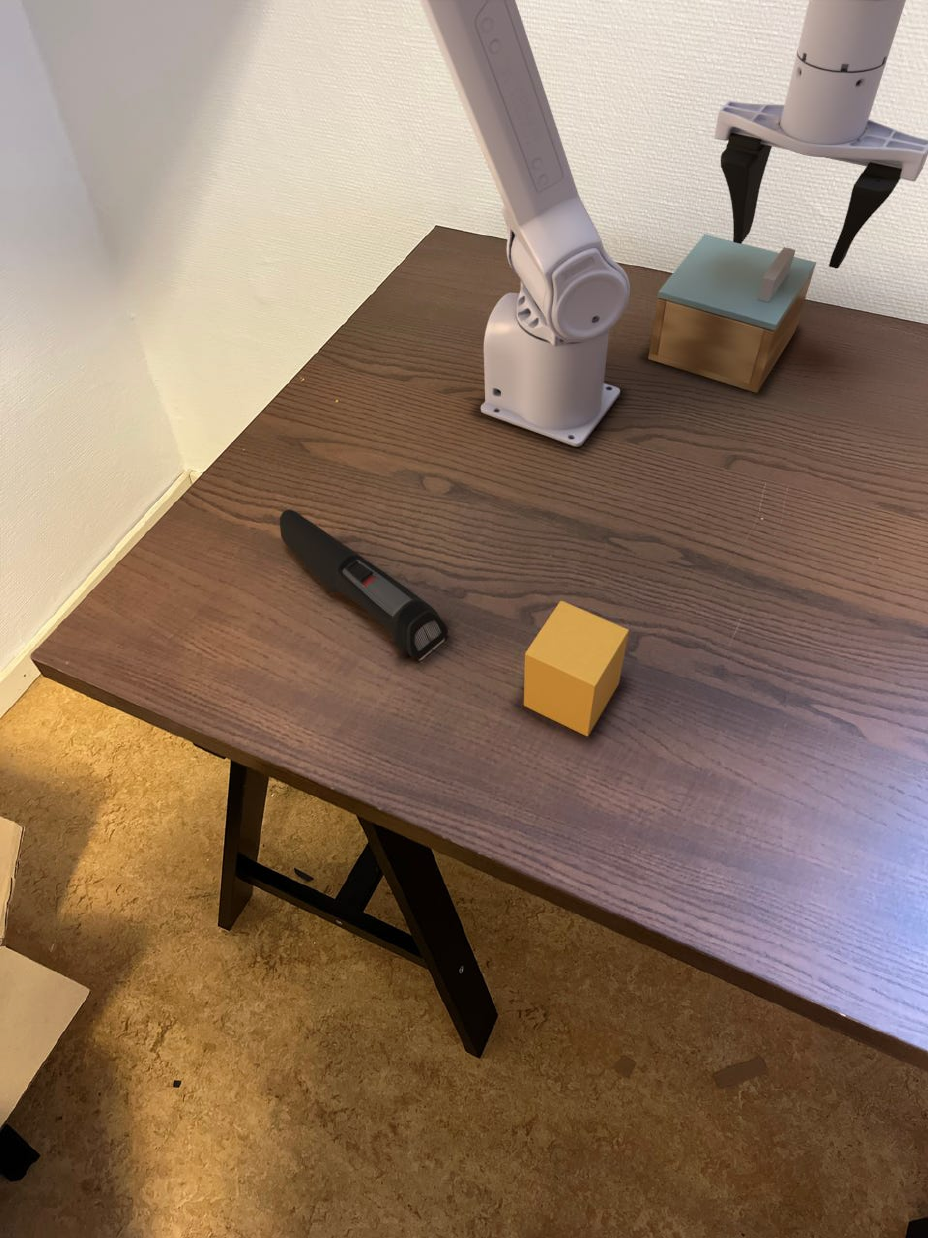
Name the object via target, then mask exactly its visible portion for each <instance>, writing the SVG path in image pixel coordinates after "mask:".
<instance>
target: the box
mask: <svg viewBox="0 0 928 1238" xmlns="http://www.w3.org/2000/svg"><path fill="white" fill-rule="evenodd" d="M814 270H815V269H814ZM814 270H813V272H812V273H811V275H810V276H809V278H808V279H807V281H806V283H805V284H804V286H803V287H802V289H801V290H800V292H799V294H798V295H797V297H796V298H795V300H794V301H793V303H792V305H791V306H790V308H789V309H788V311H787V312H786V314H785V315H784V317H783V319H782V320H781V322H780V323H779V325H778V326H777V328H776V330H775V331H774V330H770V329H767V328H763V327H760V326H756V325H753V324H749V323H746V322H742V321H739V320H735V319H732V318H728V317H725V316H721V315H718V314H714V313H711V312H707V311H704V310H700V309H697V308H693V307H690V306H686V305H683V304H679V303H676V302H672V301H669V300H665V299H662V298H658V297H657V299H656V307H655V313H654V319H653V324H652V331H651V339H650V345H649V352H648V360H651V361H654V362H657V363H660V364H663V365H666V366H669V367H672V368H674V369H675V368H676V369H679V370H682V371H686V372H689V373H692V374H695V375H698V376H701V377H705V378H708V379H711V380H714V381H717V382H720V383H724V384H726V385H730V386H733V387H736V388H739V389H743V390H746V391H749V392H753V393H755V394H758V393H759V391H760V389H761V387H762V386H763V384H764V383H765V381H766V379H767V378H768V377H769V375H770V374H771V371H772V370H773V368H774V366H775V365H776V363H777V362H778V360H779V358H780V356H781V355H782V353H783V352H784V350H785V348H787V345H788V344H789V342H790V340H791V339H792V337H793V335H794V334H795V332H796V330H797V327H798V325H799V324H798V323H799V321H800V317H801V313H802V311H803V307H804V304H805V301H806V298H807V295H808V291H809V288H810V285H811V283H812V278H813V275H814Z"/></svg>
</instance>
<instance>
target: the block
mask: <svg viewBox="0 0 928 1238" xmlns="http://www.w3.org/2000/svg"><path fill="white" fill-rule="evenodd" d="M629 633H630V630H629V629H628V628H626V627H623V626H621V625H619V624H617V623H614V622H612V621H610V620H607V619H605V618H603V617H600V616H598V615H595V614H593V613H591V612H589V611H586V610H585V609H582V608H579V607H577V606H575V605H573V604H570V603H569V602H566V601H564V600H560V601H559V603H558V604H557V605H556V607H555V608H554V610H553V611H552V613H551V614H550V616H549V617H548V619H547V621H545V623H544V625H543V627H542V628H541V629H540V631H539V632H538V634H537V635H536V637H535V638H534V639H533V641H532V643H531V644H530V646H529V647H528V649H527V650H526V651H525V653H524V684H523V685H524V686H523V687H524V689H523V706H524V707H526V708H528V709H530V710H531V711H534V712H536V713H538V714H540V715H542V716H544V717H546V718H548V719H550V720H552V721H554V722H557V723H558V724H560V725H563V726H564V727H567V728H569V729H571V730H573V731H575V732H576V733H579V734H580V735H583V736H585V737H589V735H590V734H591V732H592V731H593V729H594V727H595V725H596V723H597V722H598V720H599V719H600V717H601V715H602V714H603V712H604V710H605V708H606V707H607V705H608V703H609V702H610V700H611V698H612V697H613V695H614V692H615V691H616V689H617V688H618V686H619V684H620V680H621V674H622V668H623V664H624V659H625V653H626V648H627V642H628V638H629Z"/></svg>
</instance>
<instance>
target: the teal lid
mask: <svg viewBox="0 0 928 1238" xmlns="http://www.w3.org/2000/svg"><path fill="white" fill-rule="evenodd" d="M795 254H796V249H793V248H790V247H785V246H784V247H782V249H781V251H780V252H777V251H774V250H769V249H765V248H761V247H758V246H753V245H750V244H746V243H743V242H742V243H741V244H739V243H735V242H733V240H730V239H726V238H722V237H718V236H715V235H710V234H707V233H704V234H703V235H702V236H701V238H700V239H699V240H698V241H697V243H696V244H695V245H694V246H693V248H692V249H690V251H689V253H688V254H687V255H686V256H685V258H683V260H682V261H681V262H680V264H679V265H678V266H677V267H676V268H675V270H674V271H673V273H672V274H671V275H670V276H669V278H668V279H667V280H666V282H664V284H663V285H662V286H661V288H660V289H659V290H658V292H657V293H658V294H657V299H658V298H662V299H665V300H669V301H672V302H676V303H679V304H683V305H686V306H690V307H693V308H697V309H700V310H704V311H707V312H711V313H714V314H718V315H721V316H725V317H728V318H732V319H735V320H739V321H742V322H746V323H749V324H753V325H756V326H760V327H763V328H767V329H770V330H774V331H775V330H776V328H777V326H778V325H779V323H780V322H781V320H782V319H783V317H784V315H785V314H786V312H787V311H788V309H789V308H790V306H791V305H792V303H793V301H794V300H795V298H796V297H797V295H798V294H799V292H800V290H801V289H802V287H803V286H804V284H805V283H806V281H807V279H808V278H809V276H810V275H811V273H812V272H813V270H815V268H816V265H817V262H816V261H813V260H809V259H805V258H801V257H797V256H795ZM813 273H814V272H813Z"/></svg>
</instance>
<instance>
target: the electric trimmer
mask: <svg viewBox="0 0 928 1238" xmlns="http://www.w3.org/2000/svg"><path fill="white" fill-rule="evenodd" d="M279 530H280V536H281V539H282V541H283V544H285V545H286V546H287V547H288V550H290V551H291V552H292V554H294V556H295V557H296V558H297V559H298V560H299V561H300V562H301V563H302V564H303V565H304V566H305V567H306V569H307V570H308V571H309V572H310V573H311V574H312V575H313V576H314V578H316V579H317V581H319V583H320V584H322V585H323V587H324V588H325V589H326V590H328V591H329V592H331V593H334V594H335V593H337V594H343V595H345V596H347V597H348V598H349V599H351V600H352V601H353V602H354V603H355V604H356V605H358V606H359V607H361V608H362V609H363V610H364V611H366V613H368V614H369V615H370V616H372V618H374V619H375V620H376V621H377V622H378V623H379V624H380V625H382V627H384V628H385V630H387V631H388V633H389V634H390V635H391V637H392V638H391V639H392V640H393V642H394V644H395V646H396V647H397V648H398V650H399V651H400V652H401V653H402V654H403V656H404V657H406V658H410V659H411V658H413V659H414V660H417V661H419V662H420V661H422V660H423V659H425V658H426V656H428V655H430V654H431V653H432V652H433V651H434V650H436V649H437V648H438V647H439V646H440V645H442V644H443V643H444V642H445V639H446V638H447V637H448V634H449V632H448V631H449V630H448V627H447V625H446V622H444V621H443V619H442V618H441V616H440V615H439V613H438V612H437V611H436V609H434V607H433V606H432V605H431V604H429V603H428V602H426V601H425V600H424V599H422V598H421V597H420V596H418V595H417V593H414V592H413V591H412V590H411V589H409V588H408V587H406V586H404V585H403V584H402V583H400V582H399V581H398V580H396V579H394V578H393V577H392V576H390V575H389V574H387V573H386V572H384V571H383V570H382V569H381V568H379V567H377V566H376V565H375V564H373V563H371V562H370V561H369V560H367V559H365V558H364V557H363V556H362V555H360V554H358V553H357V552H355V551H354V550H353V549H351V548H350V547H349V546H347V545H346V544H344V543H343V542H341V541H340V540H339V539H337V538H335V536H332V535H331V534H329V533H328V532H327V531H326V530H324V529H322V528H321V527H319V526H317V524H315V523H313V522H311V520H309V519H307V518H306V517H305V516H303V515H301V514H300V513H298V512H297V511H295V510H293V509H285V510H283V512H282V513H281V515H280V516H279Z"/></svg>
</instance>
